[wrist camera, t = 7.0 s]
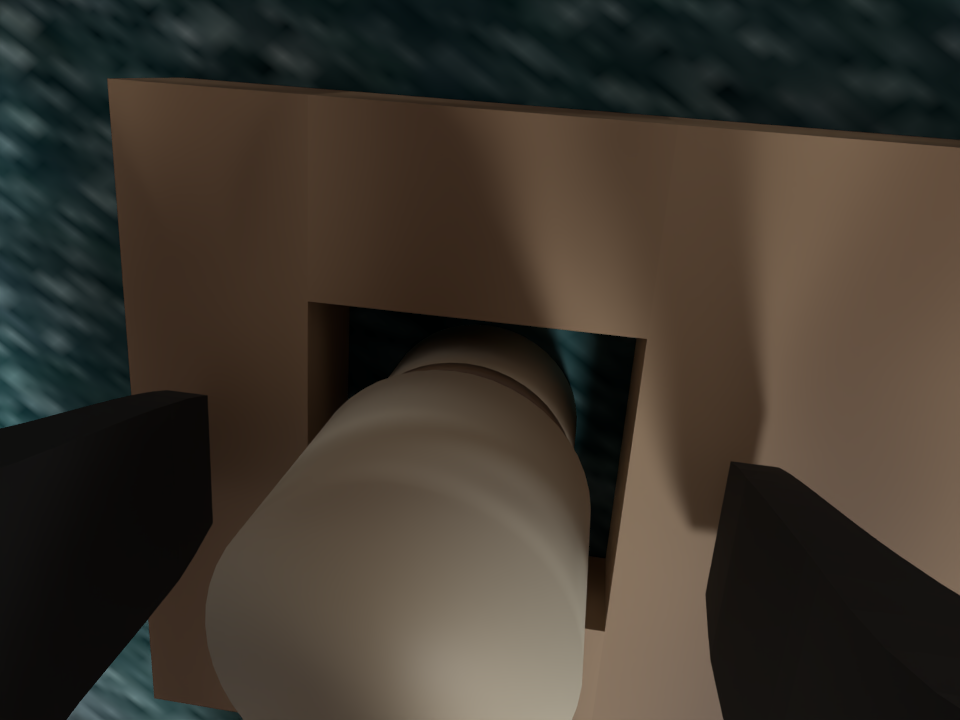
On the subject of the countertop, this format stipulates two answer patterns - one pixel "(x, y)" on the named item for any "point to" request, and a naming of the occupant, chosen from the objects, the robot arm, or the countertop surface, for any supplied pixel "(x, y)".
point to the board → (556, 319)
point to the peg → (418, 550)
